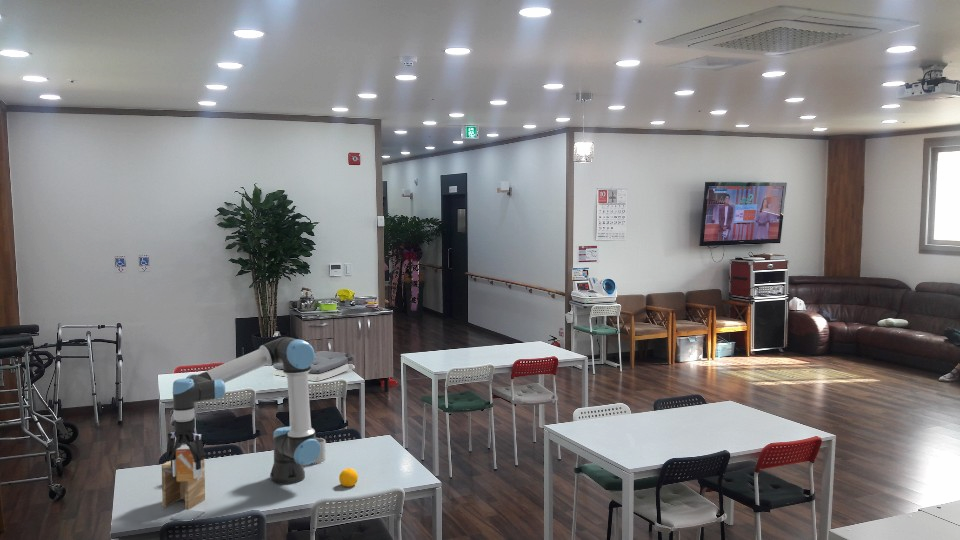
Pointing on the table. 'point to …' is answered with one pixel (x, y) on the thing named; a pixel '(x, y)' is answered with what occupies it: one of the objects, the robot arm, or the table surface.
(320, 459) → the mug
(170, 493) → the dispenser
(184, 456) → the small box
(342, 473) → the yellow ball
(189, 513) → the pad
